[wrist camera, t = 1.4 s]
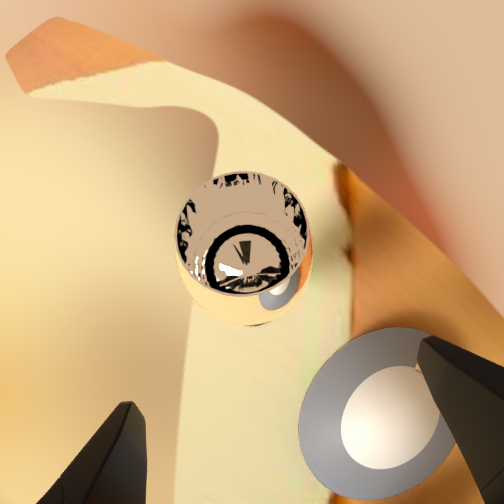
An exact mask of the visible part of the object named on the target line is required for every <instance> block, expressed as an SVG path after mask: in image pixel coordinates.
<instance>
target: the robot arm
mask: <svg viewBox="0 0 504 504" xmlns="http://www.w3.org/2000/svg"><path fill="white" fill-rule="evenodd" d="M417 362H418V365H419V367H420V370H421V372H422V374H423V377H424V379H425V381H426V384H427V386H428V388H429V391H430V393H431V395H432V398H433V400H434V402H435V404H436V406H437V407H438V409H439V411H440V413H441V415H442V416H443V418H444V420H445V422H446V424H447V426H448V428H449V429H450V431H451V433H452V435H453V437H454V439H455V441H456V443H457V445H458V447H459V449H460V451H461V453H462V455H463V457H464V459H465V461H466V463H467V465H468V467H469V469H470V471H471V473H472V475H473V477H474V480H475V482H476V484H477V486H478V488H479V491H480V493H481V495H482V498H483V500H484V502H485V504H504V367H502V366H500V365H498V364H496V363H494V362H491V361H489V360H487V359H485V358H483V357H480V356H478V355H476V354H474V353H471V352H469V351H467V350H465V349H463V348H460V347H458V346H456V345H454V344H452V343H449V342H447V341H445V340H443V339H441V338H438V337H436V336H434V335H430V336H427V337H425V338H423V339H422V340H421V341H420V345H419V350H418V354H417ZM146 480H147V449H146V424H145V419H144V417H143V415H142V413H141V412H140V411H139V409H138V407H137V406H136V404H135V403H134V402H132V401H126V402H121V403H119V405H118V406H117V407H116V408H115V409H114V411H113V412H112V413H111V414H110V415H109V417H108V418H107V419H106V420H105V421H104V423H103V424H102V425H101V427H100V428H99V429H98V430H97V431H96V433H95V434H94V435H93V436H92V437H91V439H90V440H89V441H88V442H87V444H86V445H85V446H84V447H83V449H82V450H81V451H80V452H79V453H78V455H77V456H76V457H75V458H74V460H73V461H72V462H71V463H70V465H69V466H68V467H67V468H66V470H65V471H64V472H63V473H62V474H61V476H60V478H58V479H57V481H56V482H55V483H54V484H53V485H52V487H51V488H50V489H49V490H48V491H47V493H46V494H45V495H44V496H43V497H42V498H41V499H40V500H39V501H38V502H37V503H36V504H146Z"/></svg>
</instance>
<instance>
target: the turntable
mask: <svg viewBox="0 0 504 504" xmlns="http://www.w3.org/2000/svg"><path fill="white" fill-rule="evenodd" d="M430 335H431V334H429V333H427V332H425V331H422V330H419V329H416V328H409V327H391V328H384V329H380V330H376V331H373V332H369V333H366V334H364V335H362V336H359V337H357V338H355V339H354V340H352V341H350V342H348V343H347V344H345V345H344V346H343V347H341V348H340V349H339V350H337V351H336V352H335V353H334V354H333V355H332V356H331V357H330V358H329V359H328V360H327V361H326V362H325V363H324V365H323V366H322V367H321V368H320V369H319V371H318V372H317V374H316V375H315V377H314V378H313V380H312V382H311V384H310V386H309V387H308V389H307V392H306V394H305V397H304V400H303V402H302V406H301V411H300V415H299V425H298V429H299V441H300V447H301V450H302V453H303V456H304V459H305V461H306V463H307V465H308V467H309V469H310V471H311V472H312V473H313V475H314V476H315V477H316V479H317V480H318V481H319V482H321V483H322V484H323V485H324V486H325V487H326V488H328V489H330V490H331V491H333V492H334V493H337V494H339V495H341V496H344V497H348V498H351V499H357V500H378V499H385V498H388V497H392V496H396V495H398V494H401V493H403V492H406V491H408V490H409V489H411V488H413V487H415V486H417V485H418V484H419V483H421V482H422V481H424V480H425V479H426V478H428V477H429V476H430V475H431V474H432V473H433V472H434V471H435V470H436V469H437V468H438V467H439V466H440V465H441V464H442V463H443V461H444V460H445V459H446V458H447V456H448V455H449V453H450V452H451V450H452V448H453V447H454V445H455V443H456V441H455V439H454V437H453V435H452V433H451V431H450V429H449V428H448V426H447V424H446V422H445V420H444V418H443V416H442V415H441V413H440V411H439V409H438V407H437V406H436V404H435V402H434V400H433V398H432V395H431V393H430V391H429V388H428V386H427V384H426V381H425V379H424V377H423V374H422V372H421V370H420V367H419V365H418V362H417V354H418V350H419V345H420V341H421V340H422V339H423V338H425V337H427V336H430Z"/></svg>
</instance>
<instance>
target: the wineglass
mask: <svg viewBox="0 0 504 504" xmlns="http://www.w3.org/2000/svg"><path fill="white" fill-rule="evenodd" d="M174 239H175V255H176V261H177V266H178V270H179V272H180V276H181V278H182V281H183V283H184V285H185V287H186V289H187V291H188V293H189V294H190V295H191V297H192V298H193V299H194V300H195V302H196V303H197V304H198V305H199V306H200V307H201V308H202V309H204V310H205V311H206V312H207V313H208V314H210V315H212V316H213V317H215V318H217V319H219V320H222V321H224V322H227V323H232V324H236V325H242V326H248V327H256V326H261V325H264V324H266V323H268V322H270V321H271V320H273V319H275V318H277V317H279V316H281V315H282V314H284V313H285V312H287V311H288V310H289V309H290V308H291V307H292V306H293V305H294V304H295V303H296V302H297V301H298V299H299V298H300V297H301V295H302V294H303V292H304V290H305V288H306V286H307V284H308V281H309V279H310V276H311V273H312V266H313V258H314V248H313V236H312V231H311V227H310V222H309V220H308V217H307V215H306V212H305V208H304V207H303V205H302V203H301V202H300V200H299V199H298V197H297V196H296V195H295V194H294V193H293V192H292V191H291V190H290V189H289V188H288V187H287V186H286V185H285V184H283V183H281V182H280V181H278V180H277V179H275V178H273V177H270V176H267V175H264V174H261V173H257V172H248V171H239V172H231V173H226V174H223V175H220V176H217V177H215V178H213V179H211V180H209V181H207V182H205V183H204V184H202V185H201V186H200V187H198V188H197V189H196V190H195V191H194V192H193V193H192V194H191V195H190V196H189V197H188V198H187V200H186V202H185V203H184V205H183V206H182V208H181V210H180V213H179V215H178V218H177V221H176V227H175V236H174Z"/></svg>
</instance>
